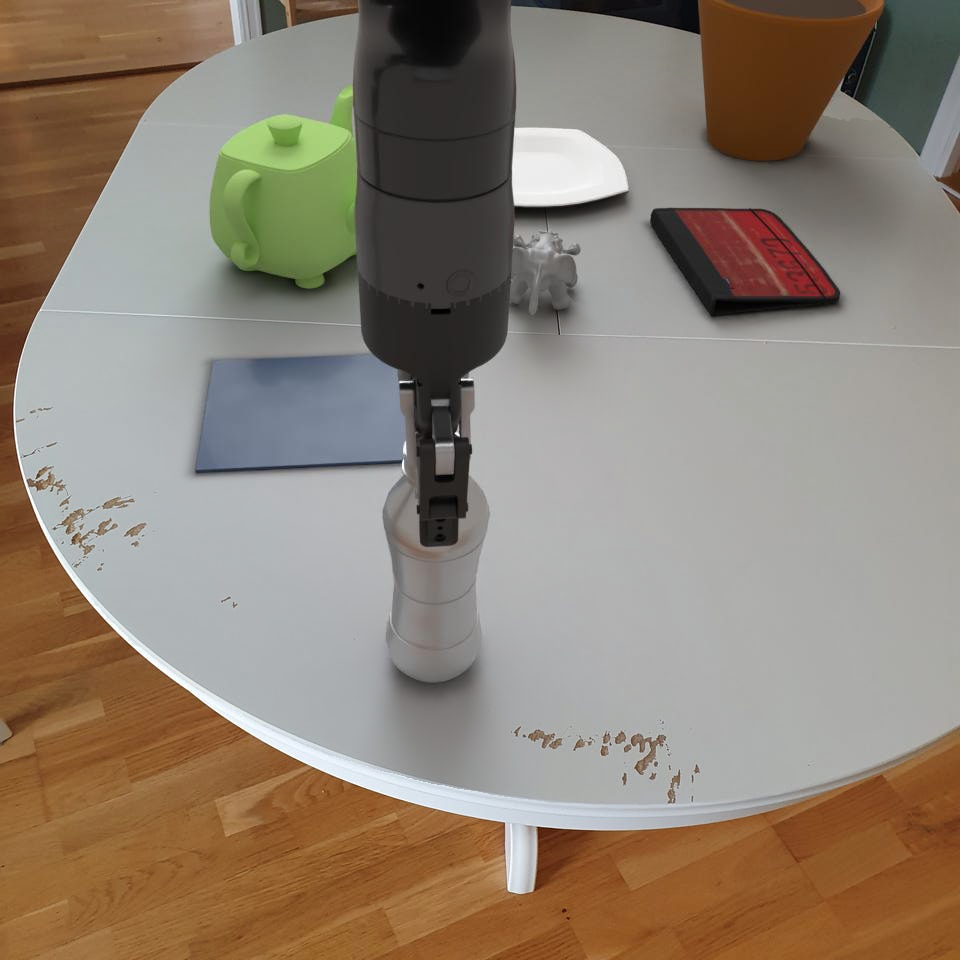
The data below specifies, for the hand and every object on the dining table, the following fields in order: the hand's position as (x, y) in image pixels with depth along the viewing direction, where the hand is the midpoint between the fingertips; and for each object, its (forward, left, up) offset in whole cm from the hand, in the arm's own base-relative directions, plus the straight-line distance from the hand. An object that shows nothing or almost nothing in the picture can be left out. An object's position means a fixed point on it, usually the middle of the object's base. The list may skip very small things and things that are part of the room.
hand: (434, 502), depth 57 cm
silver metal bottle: (0, 0, -16) cm, 16 cm away
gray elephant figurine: (+15, +45, -16) cm, 50 cm away
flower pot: (+53, +87, -16) cm, 103 cm away
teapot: (-8, +57, -16) cm, 60 cm away
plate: (+19, +76, -16) cm, 80 cm away
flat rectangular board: (-9, +29, -16) cm, 34 cm away
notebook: (+40, +53, -16) cm, 68 cm away
